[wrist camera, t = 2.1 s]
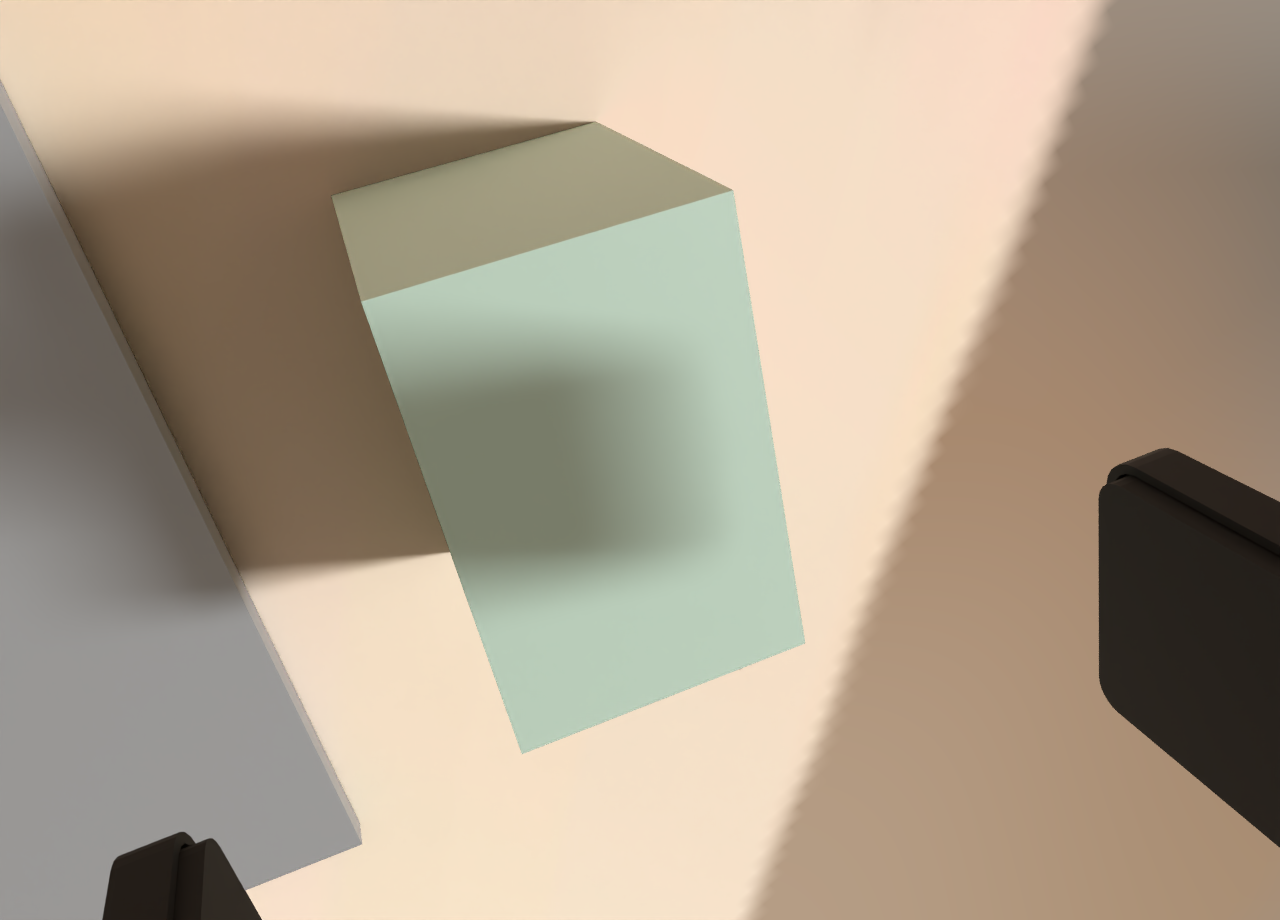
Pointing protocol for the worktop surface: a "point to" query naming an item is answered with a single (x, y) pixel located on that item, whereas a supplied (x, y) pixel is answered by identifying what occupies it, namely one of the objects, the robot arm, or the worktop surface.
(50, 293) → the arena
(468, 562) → the green block
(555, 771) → the worktop surface
